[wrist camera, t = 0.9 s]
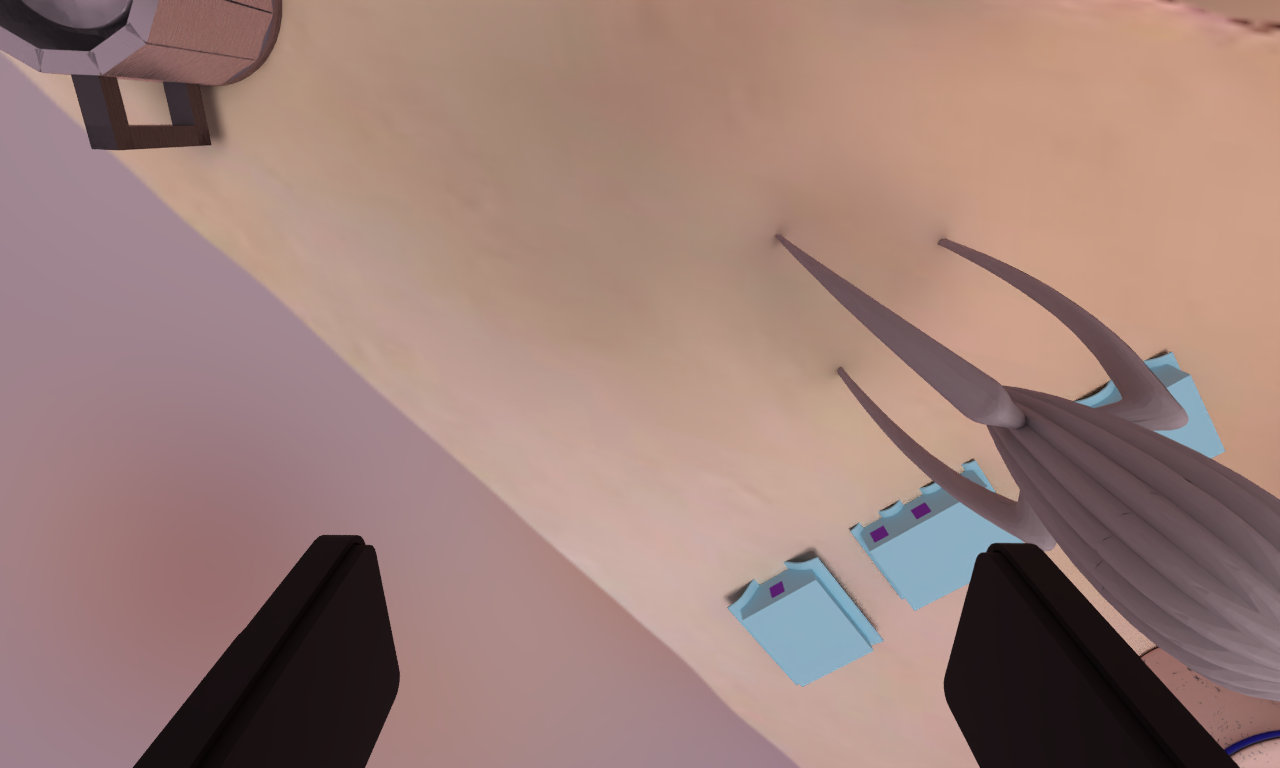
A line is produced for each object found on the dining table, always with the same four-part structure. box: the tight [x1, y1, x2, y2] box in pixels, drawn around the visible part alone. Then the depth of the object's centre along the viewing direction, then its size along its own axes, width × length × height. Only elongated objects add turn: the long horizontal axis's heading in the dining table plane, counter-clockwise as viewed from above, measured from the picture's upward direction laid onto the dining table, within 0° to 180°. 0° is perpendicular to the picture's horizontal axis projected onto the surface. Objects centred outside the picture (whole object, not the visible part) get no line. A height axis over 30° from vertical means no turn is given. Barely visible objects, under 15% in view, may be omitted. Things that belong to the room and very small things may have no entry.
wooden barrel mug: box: [0, 0, 282, 150], centre depth 29 cm, size 13×10×9 cm
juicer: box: [776, 235, 1280, 702], centre depth 26 cm, size 10×9×30 cm
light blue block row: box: [727, 352, 1225, 687], centre depth 45 cm, size 34×3×10 cm
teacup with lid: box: [1141, 648, 1280, 768], centre depth 46 cm, size 12×9×12 cm
